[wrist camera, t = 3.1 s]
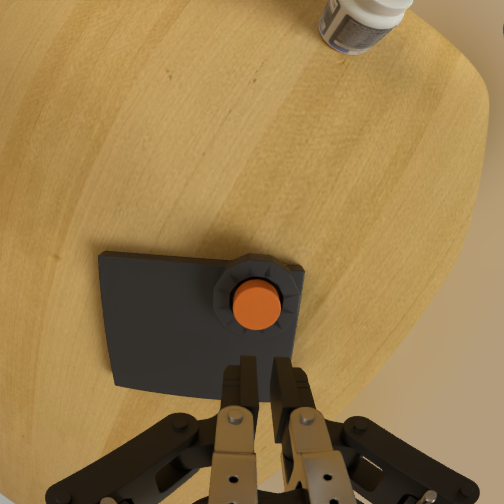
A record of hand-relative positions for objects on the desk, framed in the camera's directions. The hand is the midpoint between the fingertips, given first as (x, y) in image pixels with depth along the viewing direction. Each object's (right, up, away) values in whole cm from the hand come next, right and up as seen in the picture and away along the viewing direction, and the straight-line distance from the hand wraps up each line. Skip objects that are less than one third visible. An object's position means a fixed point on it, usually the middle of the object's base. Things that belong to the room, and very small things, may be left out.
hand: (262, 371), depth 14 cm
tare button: (0, +2, +8) cm, 8 cm away
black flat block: (-5, -1, +12) cm, 13 cm away
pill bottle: (+7, +23, +5) cm, 25 cm away
